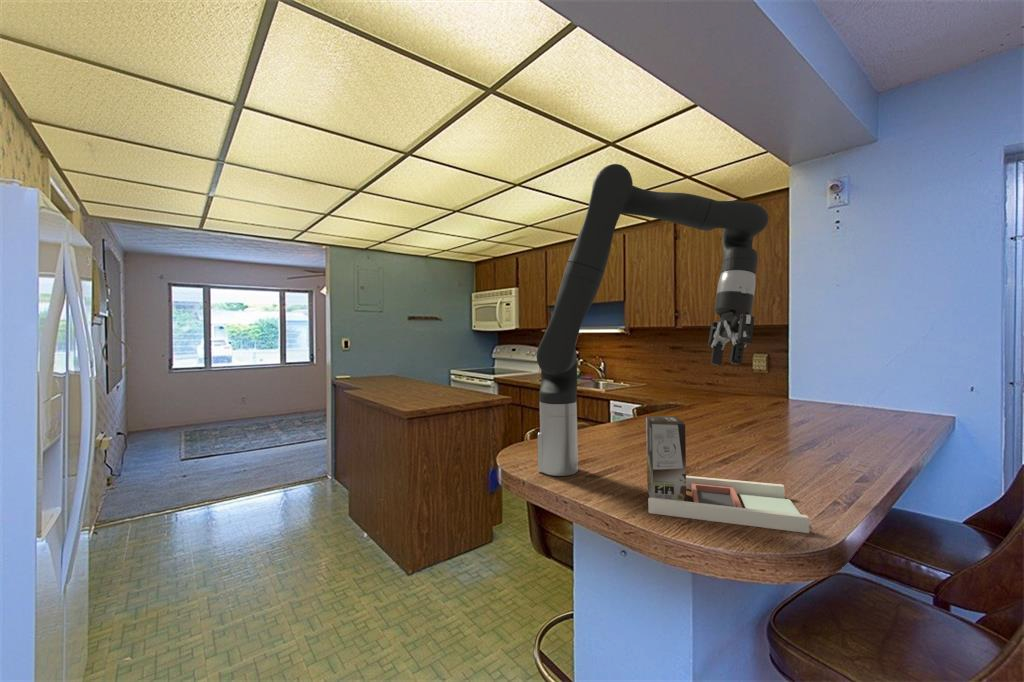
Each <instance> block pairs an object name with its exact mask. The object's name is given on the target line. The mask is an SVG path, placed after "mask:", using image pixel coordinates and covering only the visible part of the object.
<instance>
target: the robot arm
mask: <svg viewBox="0 0 1024 682" xmlns="http://www.w3.org/2000/svg"><path fill="white" fill-rule="evenodd" d="M592 182H593V183H592V186H591V187H592V188H591V193H590V197H589V198H590V199H589V202H588V206H587V210H586V215H585V218H584V220H583V223H582V226H581V228H580V230H579V233H578V235H577V238H576V240H575V242H574V244H573V247H572V250H571V251H570V254H569V257H568V259H567V261H566V262H567V263H566V265H565V267H564V272H563V274H562V278H561V281H560V285H559V289H558V291H557V296H556V300H555V303H554V304H555V305H554V308H553V312H552V315H551V317H550V320H549V323H548V325H547V327H546V330H545V331H544V334H543V337H542V339H541V340H540V343H539V345H538V347H537V351H536V357H535V358H536V362H537V366H538V367H539V368H540V370H541V371H540V372H541V375H540V376H541V380H540V388H539V392H538V394H539V396H538V397H539V432H538V433H537V470H538V471H537V472H538V473H544V474H545V475H547V476H548V475H549V476H555V477H557V476H558V477H561V476H562V477H563V476H564V477H565V476H572V475H576V474H577V473H578V471H579V460H578V459H579V457H578V455H579V454H578V453H579V452H578V451H579V450H578V416H577V415H578V410H577V409H578V406H577V404H578V403H577V395H578V392H577V391H578V355H577V349H576V344H577V342H578V336H579V333H580V329H581V327H582V323H583V321H584V319H585V317H586V315H587V314H588V311H589V310H590V308H591V306H592V304H593V303H594V300H595V298H596V297H597V294H598V291H599V289H600V286H601V283H602V281H603V278H604V274H605V271H606V269H607V268H606V267H607V266H608V265H607V264H608V261H609V256H610V252H611V247H612V243H613V236H614V234H615V233H614V232H615V229H616V226H617V224H618V220H619V219H620V216H621V214H622V215H631V216H632V215H633V216H634V215H635V216H639V217H647V218H653V219H657V220H660V221H661V220H663V221H665V222H669V223H673V224H678V225H681V226H685V227H688V228H693V229H696V230H700V231H704V232H705V231H707V232H709V231H713V230H715V229H723V230H722V237H721V241H722V243H721V244H722V252H723V258H722V263H721V270H720V276H719V280H718V283H717V290H716V296H715V303H714V313H715V314H716V315H719V319H718V321H713V320H712V321H711V325H710V330H709V337H708V342H707V345H708V347H711V349H712V351H711V357H710V358H711V359H710V363H711V365H716V366H720V365H722V363H723V355H724V348H725V347H726V344H727V343H729V342H730V341H731V343H732V346H731V350H730V351H731V352H730V357H729V363H730V364H733V365H741V364H742V363H743V357H744V350H745V348H746V347H747V344H749V345H750V344H752V342H753V335H754V327H755V326H754V325H755V316H754V315H752V313H753V308H754V298H755V292H756V275H757V273H756V272H757V267H758V260H759V259H758V258H759V257H758V256H759V254H758V251H756V250H755V248H753V242H754V238H755V237H756V236H757V235H759V234H760V233H761V232H763V231H764V229H765V228H766V227H767V225H768V223H769V221H770V220H769V213H768V212H767V210H766V208H764V207H763V206H761V205H759V204H756V203H754V202H749V201H744V200H743V201H741V200H740V201H739V200H718V199H717V200H716V199H714V198H709V197H706V196H702V195H696V194H693V193H692V194H691V193H684V192H667V191H666V192H663V191H652V190H648V189H644V188H640V187H638V186H636V185H634V184H633V178H632V175H631V172H630V171H629V169H628V168H627V167H626V166H624V165H622V164H619V163H612V164H609V165H606V166H605V167H603V168H602V169H601V170H600V171H599V172H597V174H596V175H595V177H594V179H593V181H592Z"/></svg>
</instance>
